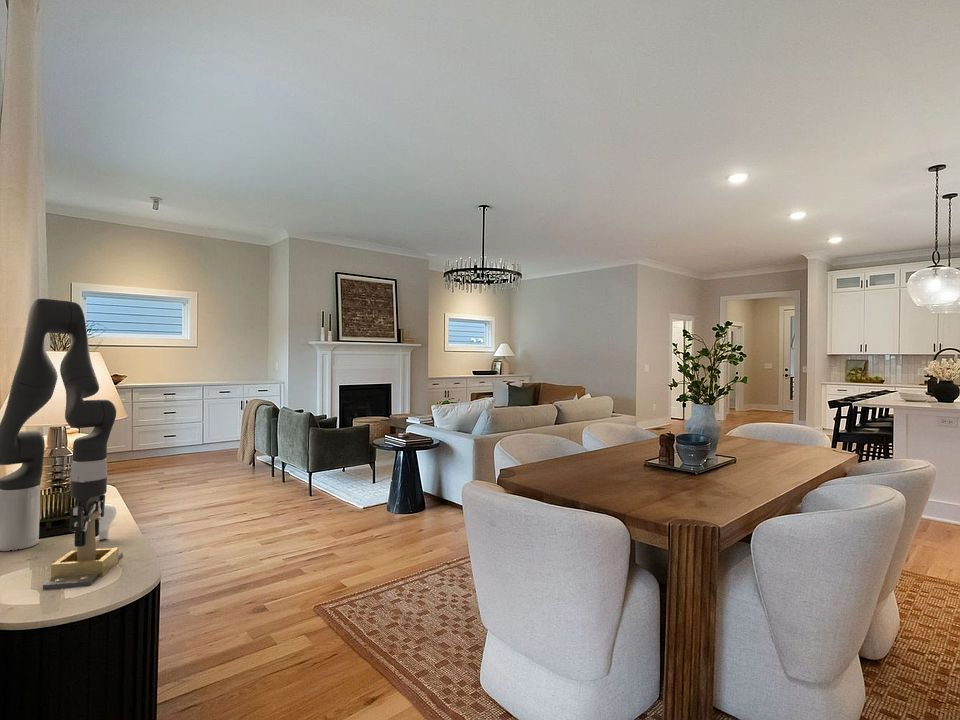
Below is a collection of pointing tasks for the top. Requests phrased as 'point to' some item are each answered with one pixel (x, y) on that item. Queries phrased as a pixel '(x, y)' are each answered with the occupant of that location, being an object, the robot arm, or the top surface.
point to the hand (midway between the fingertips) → (87, 541)
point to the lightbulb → (106, 521)
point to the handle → (88, 541)
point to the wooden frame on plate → (81, 568)
